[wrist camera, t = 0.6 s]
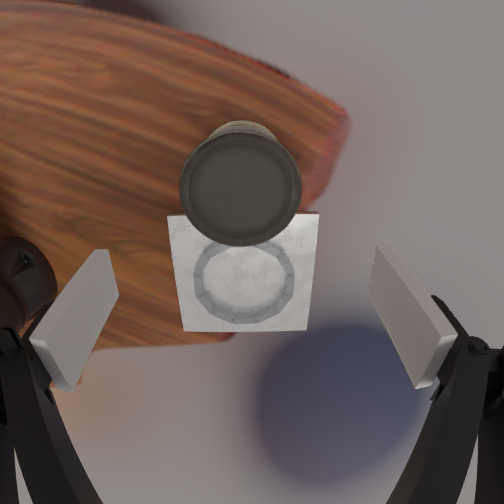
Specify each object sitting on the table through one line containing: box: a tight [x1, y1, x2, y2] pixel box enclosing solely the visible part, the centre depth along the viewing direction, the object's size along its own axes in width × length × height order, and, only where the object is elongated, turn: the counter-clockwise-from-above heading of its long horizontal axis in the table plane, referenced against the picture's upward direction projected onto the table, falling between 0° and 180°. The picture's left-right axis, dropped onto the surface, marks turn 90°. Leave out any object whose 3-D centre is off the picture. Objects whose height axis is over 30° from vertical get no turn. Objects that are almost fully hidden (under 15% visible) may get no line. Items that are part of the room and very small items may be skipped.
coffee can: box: [179, 120, 302, 247], centre depth 32 cm, size 10×10×14 cm
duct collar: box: [167, 211, 319, 332], centre depth 45 cm, size 20×20×2 cm
